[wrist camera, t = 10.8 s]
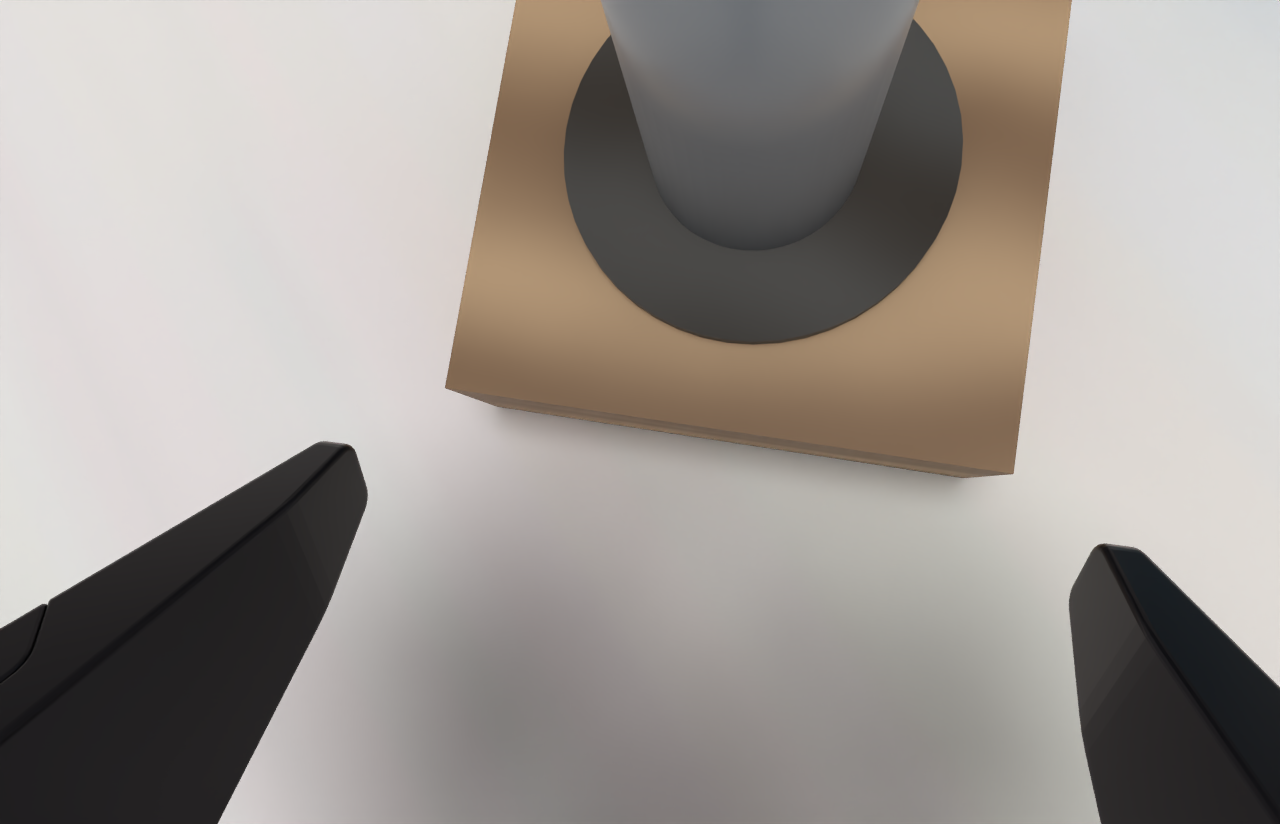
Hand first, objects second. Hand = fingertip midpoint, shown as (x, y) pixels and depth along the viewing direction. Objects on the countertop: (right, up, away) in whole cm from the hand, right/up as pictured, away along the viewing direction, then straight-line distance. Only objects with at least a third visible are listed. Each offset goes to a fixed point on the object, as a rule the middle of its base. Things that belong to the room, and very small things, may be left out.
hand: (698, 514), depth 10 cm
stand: (+3, +7, +13) cm, 15 cm away
